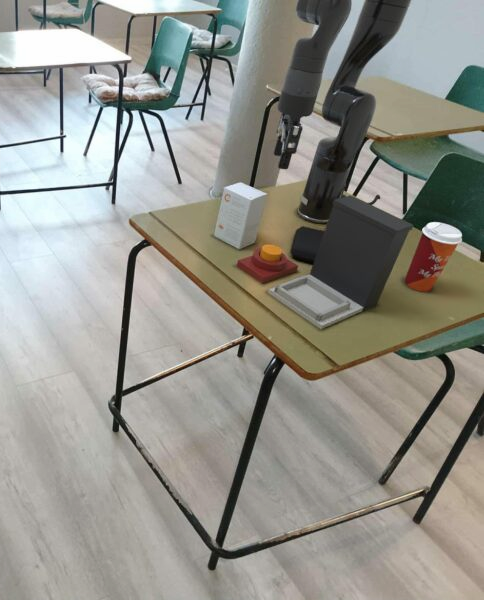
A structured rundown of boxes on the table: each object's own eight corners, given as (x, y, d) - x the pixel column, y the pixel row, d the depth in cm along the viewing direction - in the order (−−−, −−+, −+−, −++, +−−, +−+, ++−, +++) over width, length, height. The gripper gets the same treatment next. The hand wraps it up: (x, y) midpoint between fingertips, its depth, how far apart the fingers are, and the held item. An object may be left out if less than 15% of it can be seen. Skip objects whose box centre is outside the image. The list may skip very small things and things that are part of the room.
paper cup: (419, 297, 123) (447, 240, 115) (391, 278, 129) (416, 223, 121) (444, 290, 126) (473, 235, 118) (416, 272, 132) (441, 218, 124)
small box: (255, 243, 138) (268, 193, 131) (238, 250, 135) (251, 200, 127) (229, 229, 143) (240, 181, 136) (212, 236, 140) (223, 186, 132)
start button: (269, 250, 129) (271, 242, 128) (284, 259, 126) (286, 251, 125) (255, 255, 127) (257, 247, 126) (270, 264, 124) (272, 256, 123)
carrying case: (335, 271, 130) (338, 243, 141) (339, 260, 128) (342, 232, 139) (287, 259, 133) (294, 233, 144) (291, 248, 131) (298, 222, 142)
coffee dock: (322, 271, 129) (350, 195, 118) (377, 305, 120) (413, 224, 109) (267, 292, 121) (291, 211, 110) (321, 329, 111) (354, 245, 100)
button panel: (270, 255, 134) (273, 242, 132) (296, 271, 128) (300, 258, 126) (236, 266, 129) (239, 253, 127) (262, 284, 123) (266, 270, 121)
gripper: (323, 101, 117) (301, 175, 126) (312, 84, 129) (292, 153, 138) (286, 97, 118) (267, 171, 127) (278, 80, 129) (261, 149, 138)
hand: (280, 161), depth 132 cm, fingers open, 8 cm apart
